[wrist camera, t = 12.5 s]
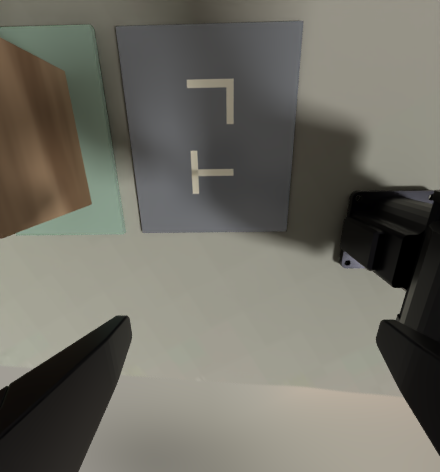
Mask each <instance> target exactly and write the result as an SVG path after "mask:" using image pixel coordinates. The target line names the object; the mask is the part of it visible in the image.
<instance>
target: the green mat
mask: <svg viewBox="0 0 440 472" xmlns="http://www.w3.org/2000/svg"><path fill="white" fill-rule="evenodd" d="M0 38H2V39H4V40H6V41H8V42H10V43H12V44H14V45H16V46H18V47H19V48H21V49H23V50H25V51H27V52H29V53H31V54H33V55H35V56H37V57H39V58H40V59H42V60H44V61H46V62H48V63H50V64H52V65H54V66H56V67H58V68H60V69H62V70H63V71H65V75H66V80H67V85H68V89H69V94H70V99H71V104H72V109H73V114H74V119H75V124H76V129H77V133H78V138H79V143H80V148H81V153H82V158H83V163H84V168H85V173H86V177H87V182H88V187H89V192H90V197H91V202H92V205H89V206H86V207H84V208H81V209H78V210H76V211H73V212H70V213H68V214H65V215H63V216H60V217H57V218H55V219H52V220H49V221H47V222H44V223H41V224H39V225H36V226H33V227H31V228H28V229H26V230H23V231H20V232H18V233H16V235H98V234H124V233H126V230H125V224H124V218H123V211H122V205H121V198H120V192H119V186H118V179H117V173H116V166H115V160H114V153H113V147H112V141H111V134H110V128H109V121H108V115H107V109H106V102H105V96H104V89H103V83H102V76H101V70H100V64H99V57H98V51H97V44H96V38H95V32H94V28H93V27H92V26H91V25H90V24H88V25H53V26H18V27H0Z"/></svg>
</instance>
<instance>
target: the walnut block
mask: <svg viewBox="0 0 440 472" xmlns="http://www.w3.org/2000/svg"><path fill="white" fill-rule="evenodd" d="M89 205H92V202H91V197H90V192H89V187H88V182H87V177H86V173H85V168H84V163H83V158H82V153H81V148H80V143H79V138H78V133H77V129H76V124H75V119H74V114H73V109H72V104H71V99H70V94H69V89H68V85H67V80H66V75H65V71H63V70H62V69H60V68H58V67H56V66H54V65H52V64H50V63H48V62H46V61H44V60H42V59H40V58H39V57H37V56H35V55H33V54H31V53H29V52H27V51H25V50H23V49H21V48H19V47H18V46H16V45H14V44H12V43H10V42H8V41H6V40H4V39H2V38H0V238H4V237H7V236H10V235H12V234H15V233H18V232H20V231H23V230H26V229H28V228H31V227H33V226H36V225H39V224H41V223H44V222H47V221H49V220H52V219H55V218H57V217H60V216H63V215H65V214H68V213H70V212H73V211H76V210H78V209H81V208H84V207H86V206H89Z"/></svg>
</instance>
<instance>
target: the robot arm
mask: <svg viewBox="0 0 440 472" xmlns="http://www.w3.org/2000/svg"><path fill="white" fill-rule="evenodd" d="M358 195H359V196H360V198H359V199H358V200H356V197H357V196H358ZM429 195H431V197H430V198H429V199H428V197H429ZM340 248H341V254H340V260H339V263H340V265H341V266H342V267H344V268H366V269H367V270H369V271H373V272H374V273H376V274H377V275H378V276H379V277H381V278H382V279H383V280H384V281H386V282H387V283H388V284H390V285H391V286H392V287H394V288H402V289H403V290H405V291H406V295H405V298H404V301H403V305H402V308H401V311H400V314H398V315H397V318H396V320H382V321H381V322H380V325H379V329H378V333H377V336H376V343H377V346H378V348H379V350H380V352H381V354H382V356H383V358H384V360H385V362H386V364H387V366H388V368H389V370H390V372H391V374H392V376H393V378H394V380H395V382H396V384H397V386H398V388H399V390H400V392H401V393H402V395H403V397H404V398H405V400H406V402H407V403H408V405H409V407H410V408H411V410H412V411H413V413H414V415H415V416H416V418H417V419H418V421H419V423H420V425H421V426H422V428H423V430H424V431H425V433H426V434H427V436H428V438H429V439H430V441H431V442H432V444H433V446H434V448H435V449H436V451H437V452H438V454H439V456H440V190H434V191H433V190H383V191H355V192H353V193H352V194H351V196H350V200H349V206H348V212H347V217H346V218H345V219H344V224H343V231H342V237H341V243H340ZM347 260H348V262H347V263H346V264H345V261H347ZM131 340H132V331H131V324H130V319H129V317H128V316H115V317H114V318H112V319H111V320H109V321H108V322H106V323H104V324H103V325H101V326H100V327H98V328H97V329H95V330H93V331H92V332H90V333H89V334H87V335H86V336H84V337H83V338H81V339H79V340H78V341H76V342H75V343H73V344H72V345H70V346H68V347H67V348H65V349H64V350H62V351H61V352H59V353H58V354H56V355H54V356H53V357H51V358H50V359H48V360H47V361H45V362H43V363H42V364H40V365H39V366H37V367H36V368H34V369H33V370H31V371H29V372H28V373H26V374H25V375H23V376H22V377H20V378H19V379H17V380H15V381H14V382H12V383H11V384H10V385H9V386H6V387H4V388H3V389H1V390H0V472H78V471H79V469H80V467H81V465H82V462H83V460H84V458H85V456H86V453H87V451H88V449H89V446H90V444H91V442H92V440H93V437H94V435H95V433H96V431H97V428H98V426H99V424H100V421H101V419H102V417H103V415H104V413H105V410H106V408H107V406H108V403H109V401H110V399H111V396H112V394H113V392H114V390H115V387H116V385H117V382H118V380H119V377H120V374H121V371H122V368H123V365H124V362H125V358H126V355H127V352H128V349H129V346H130V343H131Z"/></svg>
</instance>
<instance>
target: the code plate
mask: <svg viewBox="0 0 440 472" xmlns="http://www.w3.org/2000/svg"><path fill="white" fill-rule="evenodd" d="M302 32H303V21H281V22H246V23H211V24H176V25H141V26H116V34H117V42H118V49H119V57H120V65H121V72H122V80H123V87H124V95H125V103H126V110H127V118H128V126H129V133H130V141H131V148H132V156H133V164H134V171H135V179H136V186H137V194H138V202H139V209H140V217H141V225H142V232H143V233H178V232H269V231H287V219H288V206H289V194H290V181H291V169H292V157H293V144H294V132H295V119H296V107H297V94H298V82H299V69H300V57H301V44H302Z"/></svg>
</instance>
